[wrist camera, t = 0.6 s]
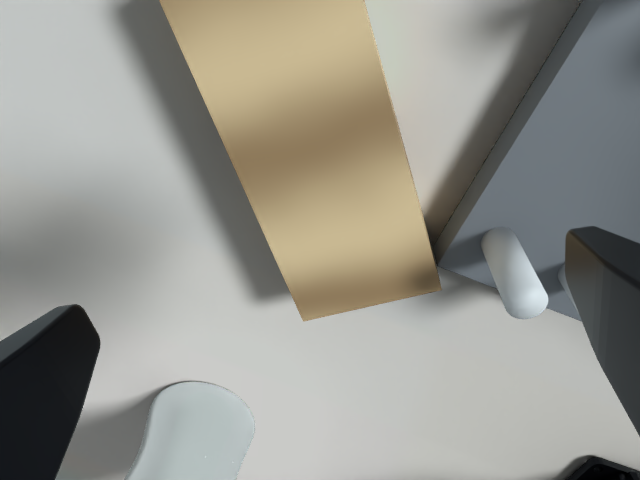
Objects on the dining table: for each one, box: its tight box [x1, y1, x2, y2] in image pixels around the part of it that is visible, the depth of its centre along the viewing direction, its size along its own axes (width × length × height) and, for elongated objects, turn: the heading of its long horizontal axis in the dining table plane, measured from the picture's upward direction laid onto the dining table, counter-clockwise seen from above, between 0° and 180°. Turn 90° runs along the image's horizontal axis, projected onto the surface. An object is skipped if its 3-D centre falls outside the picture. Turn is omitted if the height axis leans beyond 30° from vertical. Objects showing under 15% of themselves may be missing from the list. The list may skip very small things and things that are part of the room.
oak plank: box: [159, 0, 442, 321], centre depth 19 cm, size 14×6×3 cm, turn 19°
